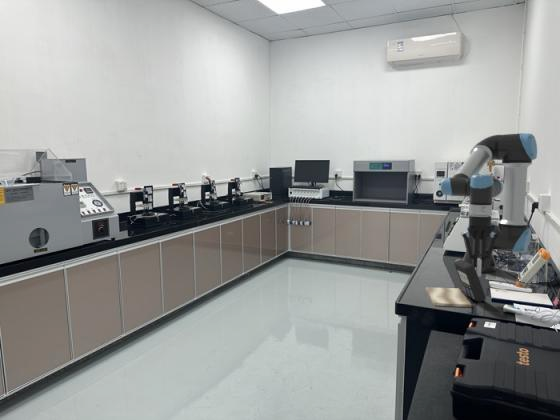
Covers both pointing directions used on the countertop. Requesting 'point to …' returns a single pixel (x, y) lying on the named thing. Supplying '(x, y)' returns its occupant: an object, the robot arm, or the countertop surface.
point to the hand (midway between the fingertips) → (477, 275)
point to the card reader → (469, 280)
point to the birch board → (447, 297)
